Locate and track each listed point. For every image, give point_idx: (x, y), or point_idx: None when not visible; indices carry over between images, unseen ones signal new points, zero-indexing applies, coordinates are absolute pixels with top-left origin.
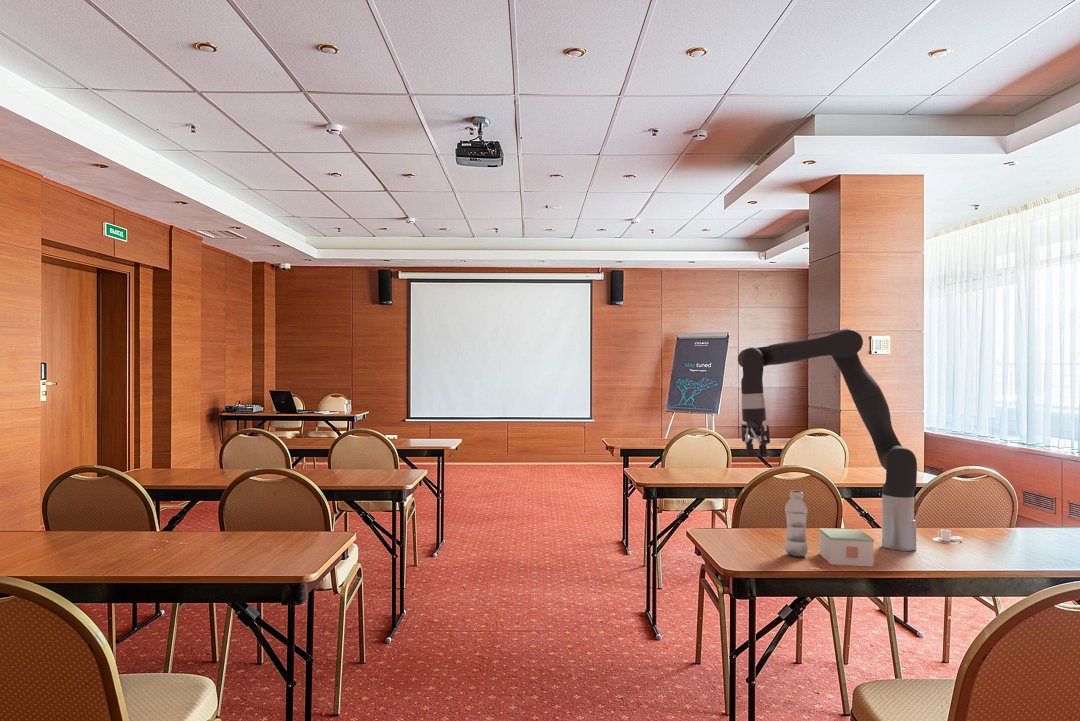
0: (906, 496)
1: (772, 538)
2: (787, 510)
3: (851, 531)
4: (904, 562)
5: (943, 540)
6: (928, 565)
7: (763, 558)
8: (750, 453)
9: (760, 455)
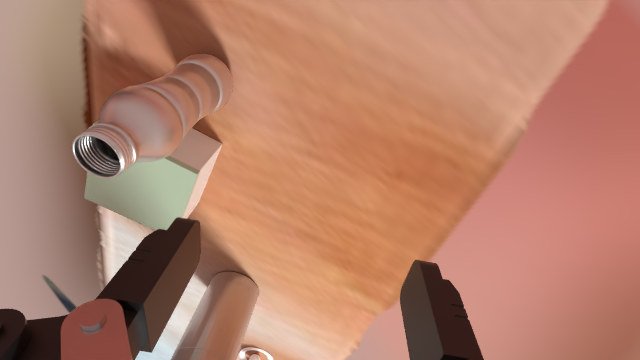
0: None
1: (375, 146)
2: (136, 87)
3: (157, 213)
4: (149, 230)
5: (255, 354)
6: (131, 245)
7: None
8: (409, 284)
9: (175, 219)
